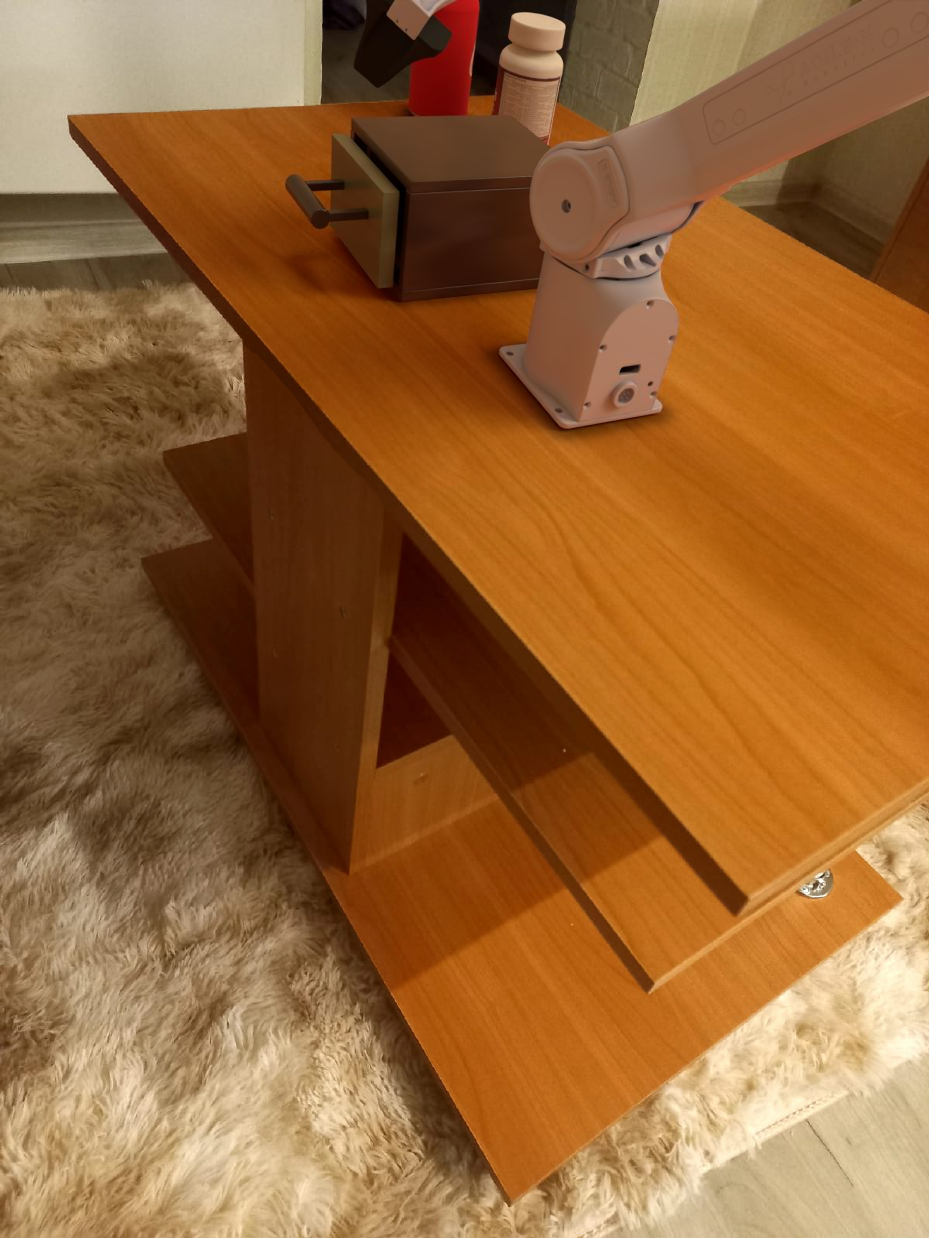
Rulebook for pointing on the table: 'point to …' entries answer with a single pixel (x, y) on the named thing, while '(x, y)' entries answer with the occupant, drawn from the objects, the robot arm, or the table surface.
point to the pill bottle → (530, 72)
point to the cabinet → (460, 201)
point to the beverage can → (447, 66)
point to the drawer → (358, 207)
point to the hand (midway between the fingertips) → (388, 38)
